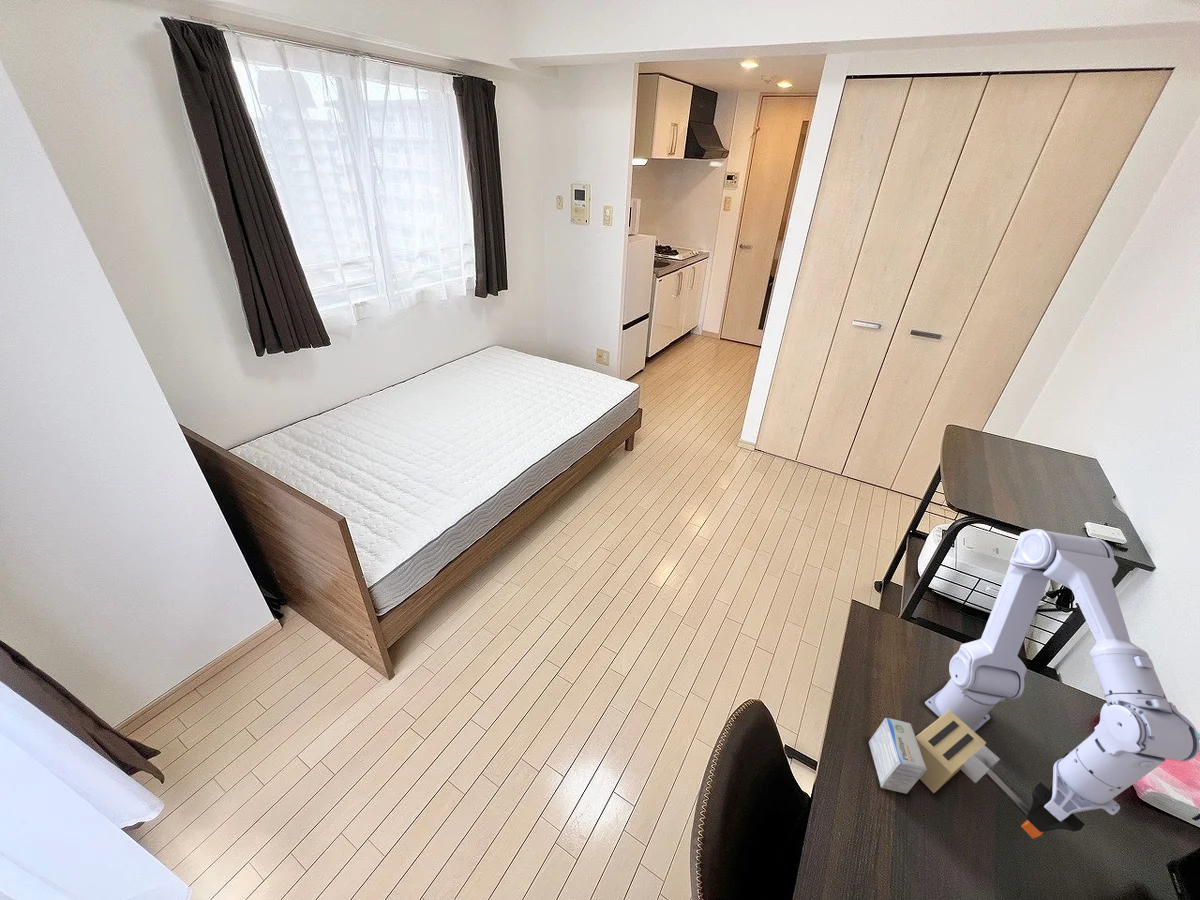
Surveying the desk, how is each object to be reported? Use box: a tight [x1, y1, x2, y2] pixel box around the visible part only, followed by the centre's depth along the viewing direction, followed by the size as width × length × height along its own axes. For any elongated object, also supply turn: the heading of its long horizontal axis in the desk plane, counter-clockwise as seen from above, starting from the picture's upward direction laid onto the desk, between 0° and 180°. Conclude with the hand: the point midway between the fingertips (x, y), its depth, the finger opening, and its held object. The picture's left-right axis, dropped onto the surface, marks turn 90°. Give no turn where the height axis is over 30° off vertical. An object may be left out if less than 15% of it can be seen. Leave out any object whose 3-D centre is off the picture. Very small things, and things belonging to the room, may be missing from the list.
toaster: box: [915, 710, 1001, 794], centre depth 84 cm, size 11×9×10 cm
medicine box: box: [868, 717, 927, 795], centre depth 83 cm, size 8×4×9 cm, turn 168°
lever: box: [978, 757, 1044, 840], centre depth 77 cm, size 5×10×2 cm, turn 29°
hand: (1046, 810), depth 73 cm, fingers open, 7 cm apart
